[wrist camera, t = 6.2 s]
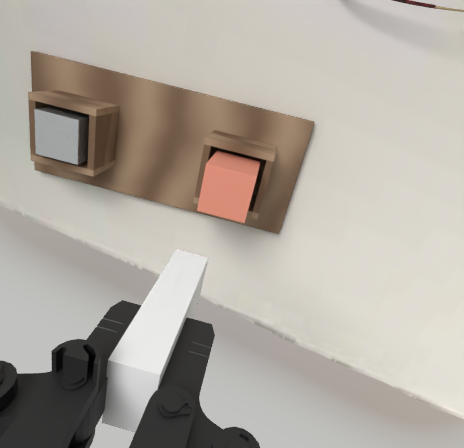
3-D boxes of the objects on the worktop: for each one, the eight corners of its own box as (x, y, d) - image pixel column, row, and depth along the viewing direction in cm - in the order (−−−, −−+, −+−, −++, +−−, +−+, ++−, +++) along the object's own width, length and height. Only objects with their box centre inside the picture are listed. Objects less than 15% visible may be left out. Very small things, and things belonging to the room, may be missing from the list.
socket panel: (40, 167, 38) (4, 181, 33) (37, 51, 33) (-6, 47, 28) (278, 230, 37) (278, 253, 32) (313, 121, 32) (319, 129, 27)
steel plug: (67, 143, 35) (35, 153, 30) (68, 104, 33) (34, 108, 28) (104, 153, 35) (77, 164, 30) (106, 114, 33) (78, 120, 28)
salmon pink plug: (208, 191, 31) (196, 210, 27) (217, 150, 30) (206, 163, 25) (249, 202, 31) (244, 223, 27) (260, 161, 30) (256, 176, 25)
